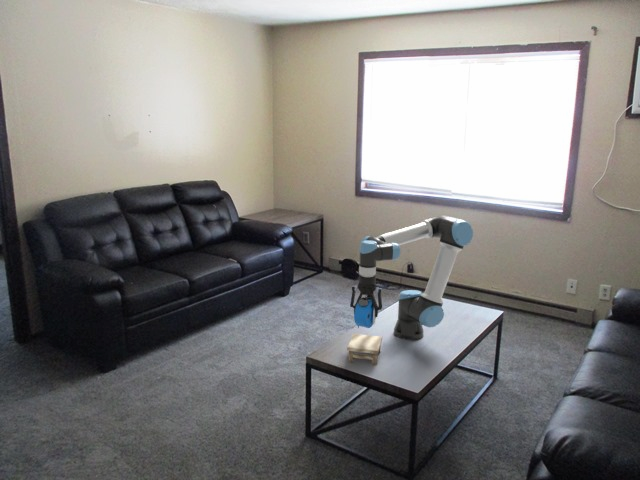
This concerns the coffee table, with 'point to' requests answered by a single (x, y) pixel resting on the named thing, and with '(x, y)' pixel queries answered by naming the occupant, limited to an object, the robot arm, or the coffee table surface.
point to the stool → (364, 347)
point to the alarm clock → (364, 312)
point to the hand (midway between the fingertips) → (365, 322)
